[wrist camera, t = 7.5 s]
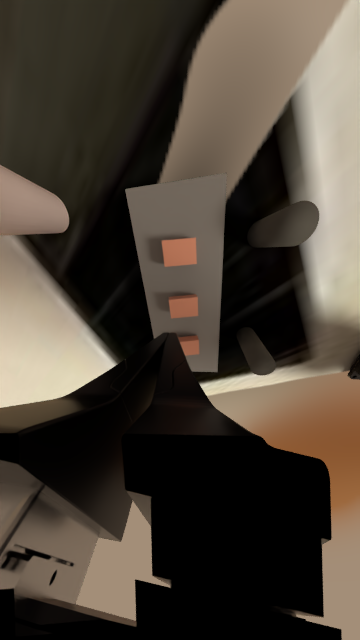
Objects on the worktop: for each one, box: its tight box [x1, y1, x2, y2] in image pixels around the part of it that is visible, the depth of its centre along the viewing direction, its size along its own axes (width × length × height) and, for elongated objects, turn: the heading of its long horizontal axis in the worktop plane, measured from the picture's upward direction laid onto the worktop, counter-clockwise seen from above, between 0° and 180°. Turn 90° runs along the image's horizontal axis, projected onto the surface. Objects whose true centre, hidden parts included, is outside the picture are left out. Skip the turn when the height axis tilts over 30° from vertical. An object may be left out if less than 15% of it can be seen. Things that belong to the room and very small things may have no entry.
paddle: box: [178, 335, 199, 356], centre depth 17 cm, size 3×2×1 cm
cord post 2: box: [247, 201, 319, 247], centre depth 12 cm, size 2×2×6 cm
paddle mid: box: [169, 294, 198, 319], centre depth 14 cm, size 3×2×1 cm
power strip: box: [125, 173, 227, 372], centre depth 17 cm, size 8×20×3 cm, turn 5°
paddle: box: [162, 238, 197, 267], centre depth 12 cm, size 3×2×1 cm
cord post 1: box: [236, 327, 276, 375], centre depth 17 cm, size 2×2×6 cm
